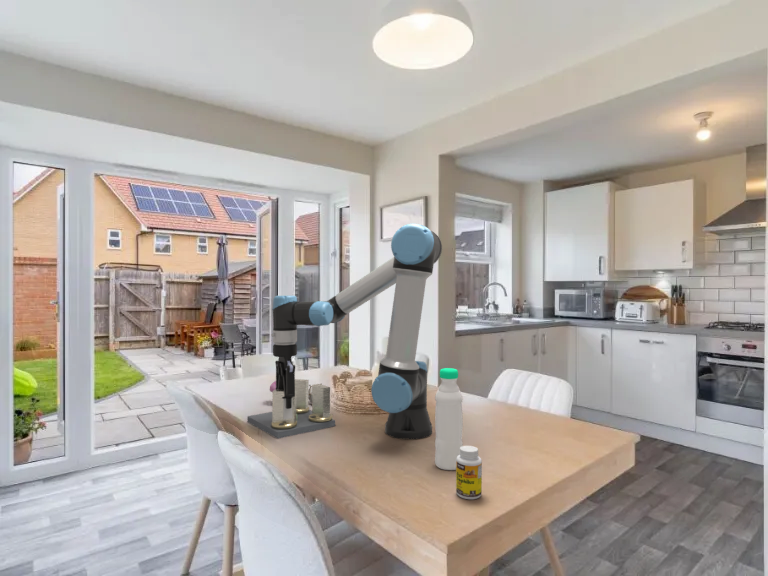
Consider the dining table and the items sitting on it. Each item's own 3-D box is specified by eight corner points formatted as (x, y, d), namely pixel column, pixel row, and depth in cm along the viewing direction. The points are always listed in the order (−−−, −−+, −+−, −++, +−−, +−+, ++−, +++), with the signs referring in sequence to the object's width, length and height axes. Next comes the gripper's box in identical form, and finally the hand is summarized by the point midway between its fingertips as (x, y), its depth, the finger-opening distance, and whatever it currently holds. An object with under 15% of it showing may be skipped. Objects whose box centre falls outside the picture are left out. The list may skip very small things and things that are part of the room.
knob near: (299, 421, 145) (300, 388, 145) (293, 429, 137) (293, 393, 137) (275, 421, 146) (276, 387, 146) (267, 428, 138) (268, 393, 138)
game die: (319, 414, 177) (325, 397, 171) (300, 406, 177) (305, 389, 172) (327, 398, 184) (332, 382, 179) (308, 391, 185) (313, 374, 179)
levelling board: (335, 425, 149) (335, 414, 149) (277, 438, 135) (277, 425, 135) (301, 411, 166) (301, 401, 166) (247, 421, 153) (247, 410, 153)
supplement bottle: (451, 496, 97) (451, 449, 97) (462, 487, 102) (462, 442, 102) (475, 503, 94) (475, 454, 94) (485, 493, 98) (485, 447, 99)
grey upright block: (337, 419, 149) (337, 386, 149) (316, 423, 143) (317, 389, 144) (324, 414, 155) (324, 382, 155) (304, 418, 150) (304, 385, 150)
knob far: (312, 408, 162) (312, 378, 162) (304, 414, 154) (304, 382, 155) (291, 407, 164) (292, 377, 164) (282, 412, 156) (283, 381, 156)
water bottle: (429, 465, 114) (429, 368, 115) (446, 458, 119) (446, 365, 120) (451, 473, 109) (451, 372, 110) (468, 466, 114) (468, 369, 115)
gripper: (265, 341, 148) (266, 411, 148) (281, 346, 132) (281, 425, 132) (287, 340, 152) (287, 408, 151) (305, 345, 136) (305, 421, 135)
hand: (285, 416), depth 141 cm, fingers closed on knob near, 5 cm apart
